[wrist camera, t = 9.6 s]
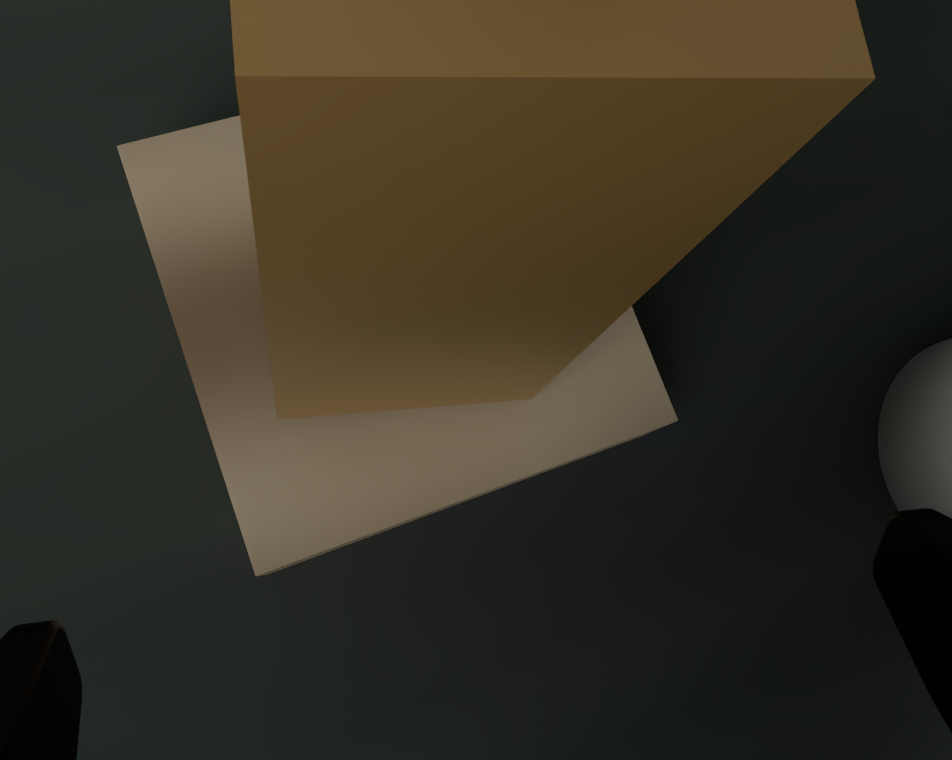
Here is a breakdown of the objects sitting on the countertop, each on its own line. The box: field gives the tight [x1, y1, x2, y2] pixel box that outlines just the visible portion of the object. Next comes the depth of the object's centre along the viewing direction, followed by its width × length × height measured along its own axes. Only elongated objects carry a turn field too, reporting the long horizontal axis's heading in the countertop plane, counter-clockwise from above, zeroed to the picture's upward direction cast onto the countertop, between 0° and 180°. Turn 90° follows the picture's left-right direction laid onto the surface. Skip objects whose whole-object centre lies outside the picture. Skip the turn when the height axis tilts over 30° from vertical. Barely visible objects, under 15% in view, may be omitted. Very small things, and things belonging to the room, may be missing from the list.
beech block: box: [117, 115, 678, 576], centre depth 19 cm, size 9×9×3 cm
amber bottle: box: [230, 0, 875, 419], centre depth 12 cm, size 5×5×12 cm
